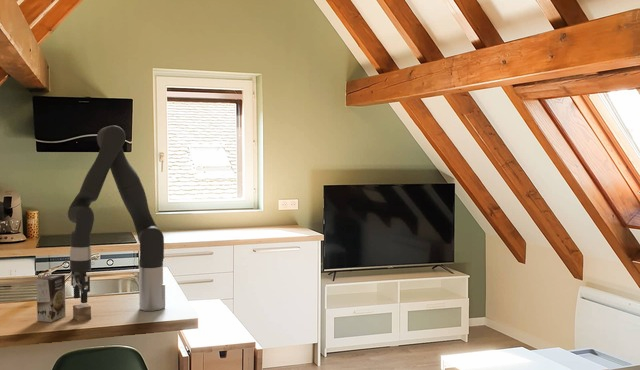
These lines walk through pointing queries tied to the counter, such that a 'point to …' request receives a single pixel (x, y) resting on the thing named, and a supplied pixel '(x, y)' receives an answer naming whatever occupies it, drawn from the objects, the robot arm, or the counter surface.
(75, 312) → the walnut cube
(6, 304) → the counter surface
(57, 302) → the coffee box
